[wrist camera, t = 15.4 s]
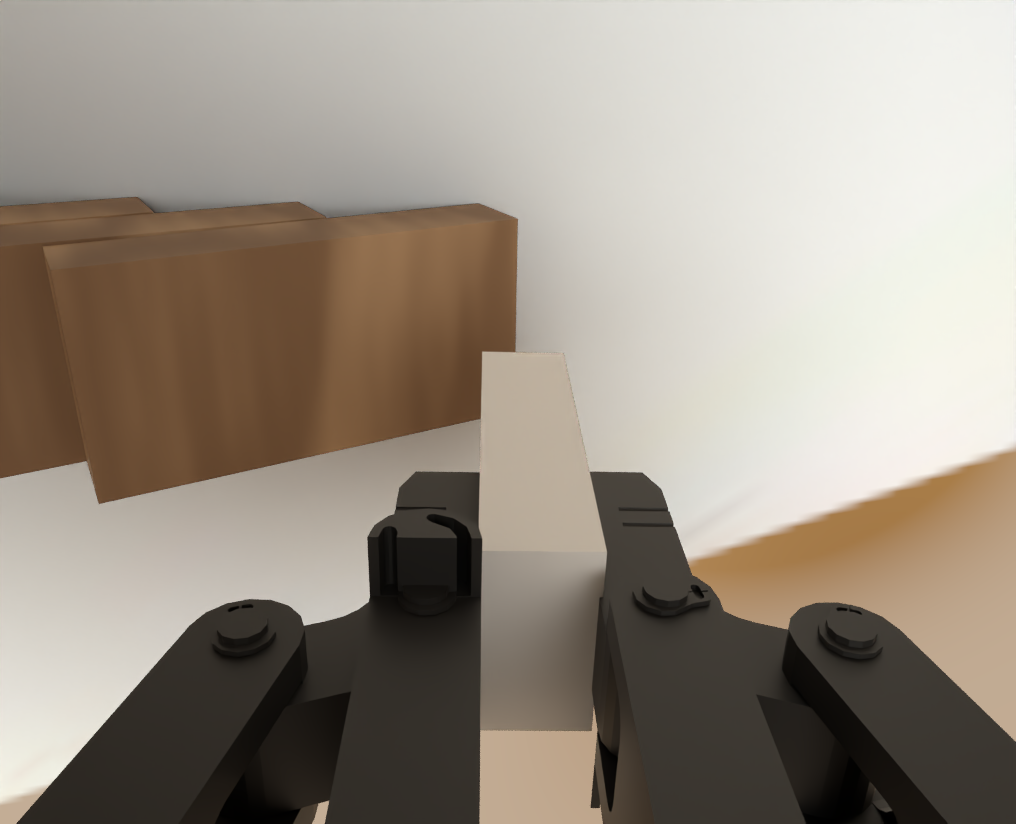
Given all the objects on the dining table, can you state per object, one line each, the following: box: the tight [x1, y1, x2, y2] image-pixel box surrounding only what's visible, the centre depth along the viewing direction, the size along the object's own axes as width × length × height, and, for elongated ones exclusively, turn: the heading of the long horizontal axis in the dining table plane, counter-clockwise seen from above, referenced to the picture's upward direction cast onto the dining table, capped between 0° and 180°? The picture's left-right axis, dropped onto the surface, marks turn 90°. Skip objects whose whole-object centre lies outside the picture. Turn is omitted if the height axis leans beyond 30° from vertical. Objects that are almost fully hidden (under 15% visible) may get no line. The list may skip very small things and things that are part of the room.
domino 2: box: [42, 204, 518, 504], centre depth 20 cm, size 2×5×10 cm
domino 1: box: [0, 202, 326, 478], centre depth 20 cm, size 2×5×10 cm
